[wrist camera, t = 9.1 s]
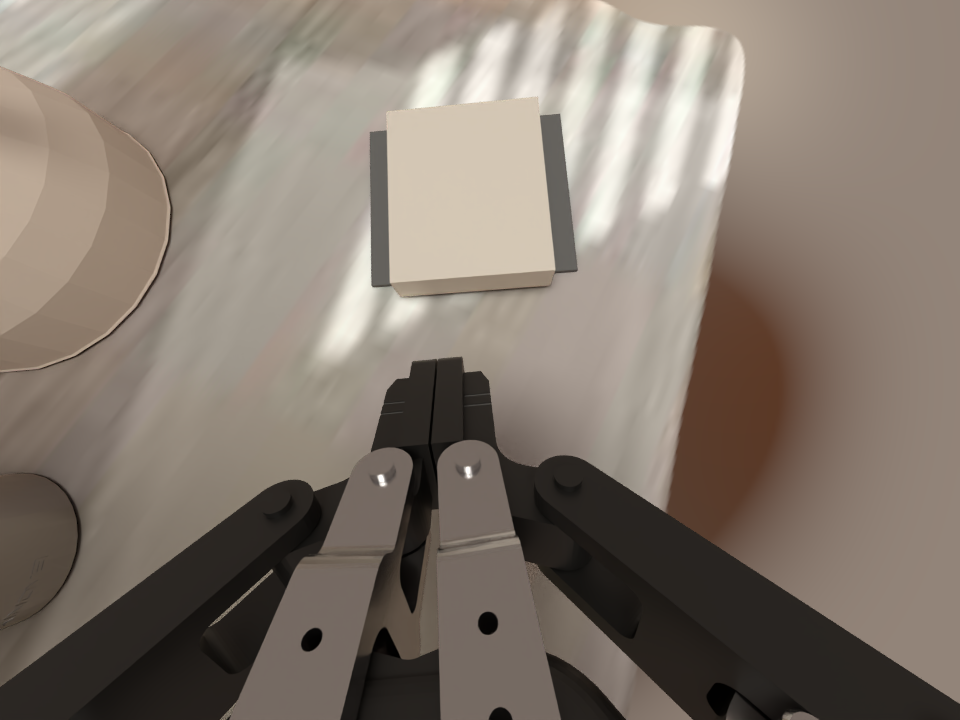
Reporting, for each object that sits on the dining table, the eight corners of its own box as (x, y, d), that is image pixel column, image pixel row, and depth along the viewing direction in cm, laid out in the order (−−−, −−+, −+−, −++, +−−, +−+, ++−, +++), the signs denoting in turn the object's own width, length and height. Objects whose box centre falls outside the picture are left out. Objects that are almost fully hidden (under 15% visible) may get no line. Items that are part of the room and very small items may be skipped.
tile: (555, 269, 22) (537, 96, 24) (389, 282, 23) (386, 111, 25) (549, 286, 25) (534, 128, 27) (401, 297, 25) (397, 141, 27)
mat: (576, 271, 25) (577, 269, 25) (372, 287, 26) (371, 285, 26) (559, 117, 27) (560, 113, 27) (371, 135, 28) (369, 132, 28)
